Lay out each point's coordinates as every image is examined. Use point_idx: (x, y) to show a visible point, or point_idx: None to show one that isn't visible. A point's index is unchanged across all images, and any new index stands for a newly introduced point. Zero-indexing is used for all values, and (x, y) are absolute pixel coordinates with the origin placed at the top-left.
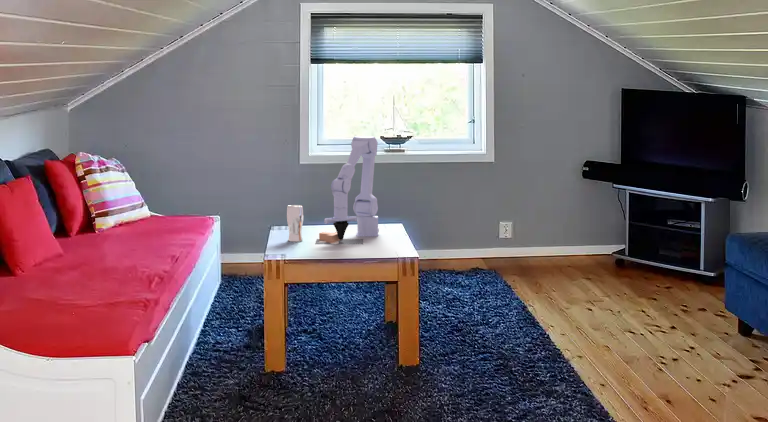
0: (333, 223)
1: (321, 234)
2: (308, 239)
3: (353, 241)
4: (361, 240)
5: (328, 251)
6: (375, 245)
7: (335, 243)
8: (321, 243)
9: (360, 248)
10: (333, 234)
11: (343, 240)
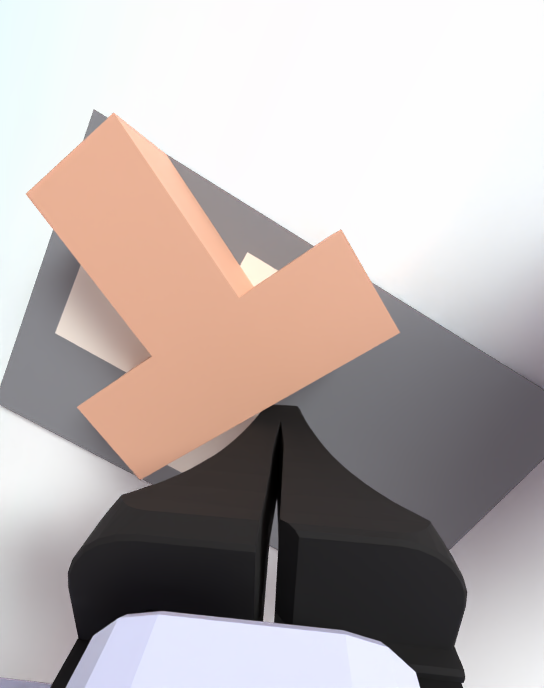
0: (90, 558)
1: (68, 234)
2: (8, 14)
3: (398, 473)
4: (505, 471)
5: (45, 626)
6: (467, 643)
7: (188, 468)
8: (64, 402)
9: None
10: (190, 410)
11: (341, 377)
